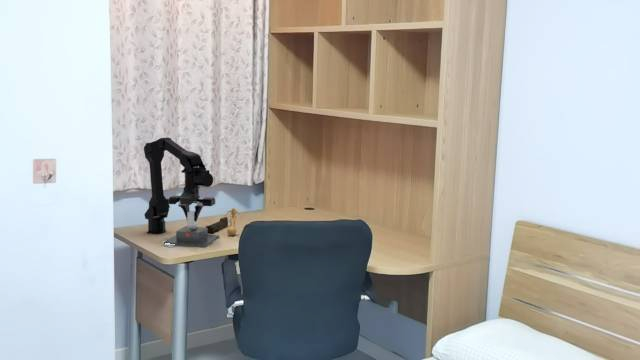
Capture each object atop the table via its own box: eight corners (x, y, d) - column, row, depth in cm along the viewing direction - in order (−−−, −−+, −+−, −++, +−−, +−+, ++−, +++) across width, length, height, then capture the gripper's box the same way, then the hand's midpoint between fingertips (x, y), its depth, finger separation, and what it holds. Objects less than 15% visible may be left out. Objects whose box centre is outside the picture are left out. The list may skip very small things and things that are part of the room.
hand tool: (212, 234, 311) (212, 224, 310) (204, 233, 312) (204, 223, 311) (232, 226, 328) (233, 216, 328) (225, 225, 330) (225, 216, 329)
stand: (163, 244, 290) (163, 231, 290) (179, 235, 308) (179, 222, 307) (205, 247, 287) (205, 233, 286) (219, 237, 305) (219, 224, 304)
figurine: (221, 235, 308) (221, 208, 306) (225, 233, 314) (225, 206, 312) (239, 237, 306) (239, 209, 304) (243, 234, 312) (243, 207, 310)
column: (187, 233, 296) (186, 212, 294) (189, 232, 299) (189, 210, 298) (194, 234, 295) (194, 212, 294) (197, 232, 298) (197, 211, 297)
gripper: (162, 186, 288) (163, 223, 290) (206, 188, 285) (207, 226, 287) (173, 182, 299) (173, 218, 301) (215, 184, 295) (215, 220, 298)
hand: (192, 221), depth 296 cm, fingers closed on column, 3 cm apart
